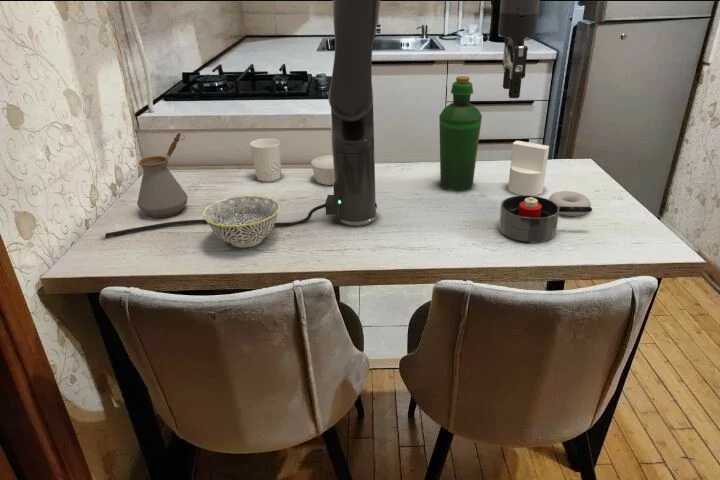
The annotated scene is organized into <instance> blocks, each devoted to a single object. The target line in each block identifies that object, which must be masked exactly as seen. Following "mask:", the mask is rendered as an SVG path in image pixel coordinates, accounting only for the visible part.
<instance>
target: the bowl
mask: <svg viewBox="0 0 720 480" xmlns="http://www.w3.org/2000/svg"><path fill="white" fill-rule="evenodd" d="M280 210H281V205H280V203H279V202H278V201H277V200H275V199H273V198H272V197H271V198H270V197H267V196H264V195H263V196H262V195H239V196H232V197H227V198H224V199H221V200H218V201H215V202H213V203H211V204H209V205H208V206H207V207H206V208H205V209H204V210H203V211H202V218H203V219H205V220H206V222H207V223H206V224H208V225H209V227H210V229H211V231H212V232H213V233H214V234H215V235H216V236H217V238H218V239H220V240H221V241H224V242H226V243H228V244H230V245H231V246H232V247H235V248H241V249H243V248H245V249H246V248H250V247H254V246H257V245H259V244H260V243H262V241H263V239H264V238H267V236H268V235H269V234H270V233H271V232H272V230H273V229H274V228H275V226H274V224H275V223H276V222H277V217H278V214H279V212H280Z"/></svg>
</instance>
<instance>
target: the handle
mask: <svg viewBox="0 0 720 480" xmlns="http://www.w3.org/2000/svg"><path fill="white" fill-rule="evenodd" d="M592 211H593V208H592V206H591V207H561V206H560V207H559V212H587V213H592Z"/></svg>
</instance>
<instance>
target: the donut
mask: <svg viewBox="0 0 720 480" xmlns="http://www.w3.org/2000/svg"><path fill="white" fill-rule="evenodd" d="M548 200H550V201H553V202H554V203H556V204H557V205H558V207H560V206H561V207H591V208H592V204H591V201H590V198H588V197H587V196H586V195H584V194H582V193H579V192H576V191H572V190H571V191H569V190H562V191H556V192H554V193H552V194H551V195H550V196H549V197H548ZM587 213H588V212H559V215H561V216H567V217H578V216H579V217H580V216H583V215H585V214H587Z"/></svg>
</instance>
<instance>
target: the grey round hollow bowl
mask: <svg viewBox="0 0 720 480" xmlns="http://www.w3.org/2000/svg"><path fill="white" fill-rule="evenodd" d="M529 197H533V198H535V199H537V200H538V203H540V204H541V206H542V208H541V215H540V218H529V217H522V216H518V211H519V204H520V203H521V202H523V201H524V200H525V199H526V198H529ZM548 199H549V198H548ZM548 199H547V198H546V197H541V196H538V195H534V196H524V195H513V196H509V197H507V198H505V199H503V200H502V201H501V203H500V210H499V220H498V229H499V231H500V232H501V233H502V234H503V235H504V236H506V237H508V238H510V239H513V240H515V241H521V242H526V243H527V242H528V243H535V242H536V243H537V242H544V241H547V240H550V239H552V238H553V237H554V236H555V235H556V232H557V228H558V221H559V215H560V214H559V207H558V205H557V204H556V203H554V202H553V201H550V200H548Z"/></svg>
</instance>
